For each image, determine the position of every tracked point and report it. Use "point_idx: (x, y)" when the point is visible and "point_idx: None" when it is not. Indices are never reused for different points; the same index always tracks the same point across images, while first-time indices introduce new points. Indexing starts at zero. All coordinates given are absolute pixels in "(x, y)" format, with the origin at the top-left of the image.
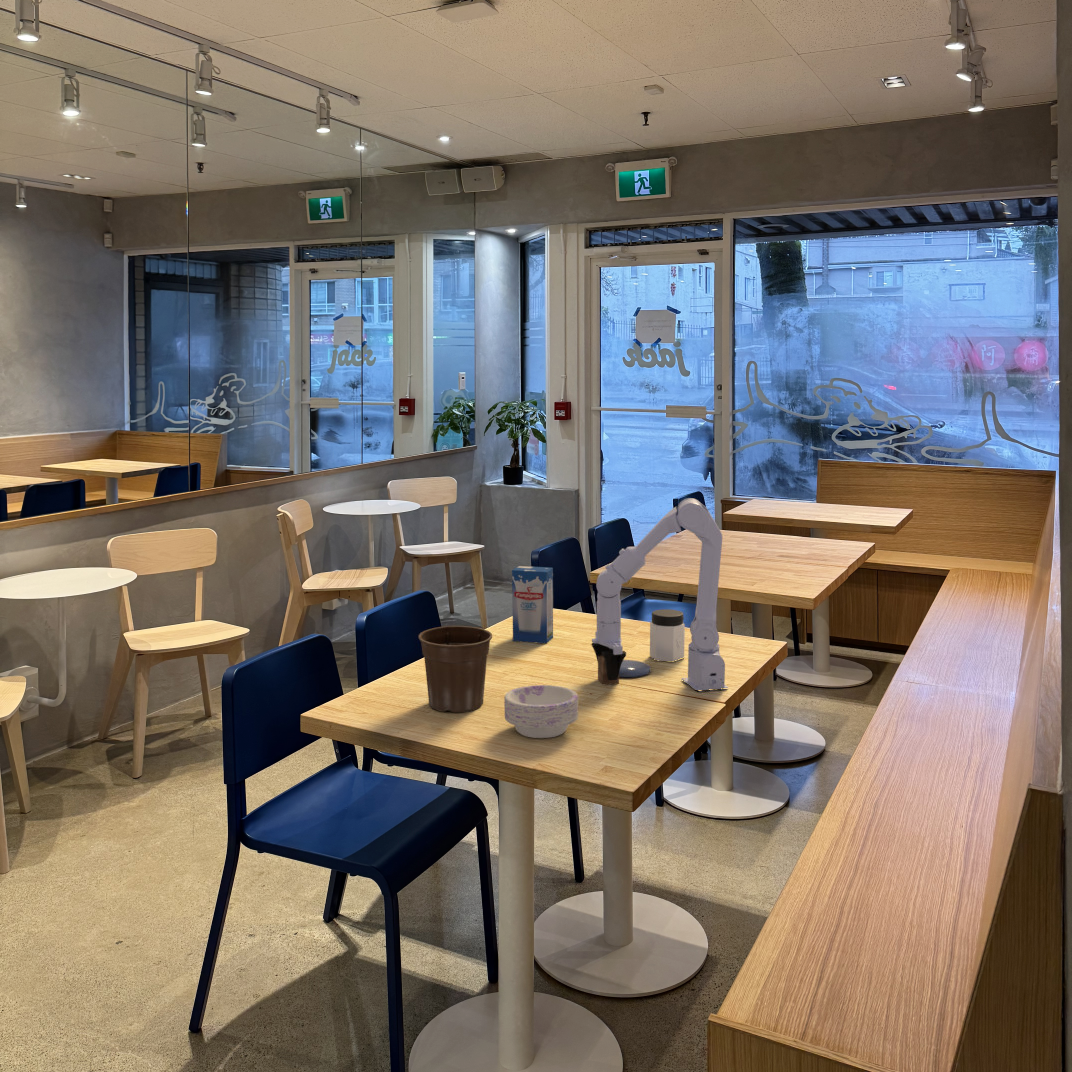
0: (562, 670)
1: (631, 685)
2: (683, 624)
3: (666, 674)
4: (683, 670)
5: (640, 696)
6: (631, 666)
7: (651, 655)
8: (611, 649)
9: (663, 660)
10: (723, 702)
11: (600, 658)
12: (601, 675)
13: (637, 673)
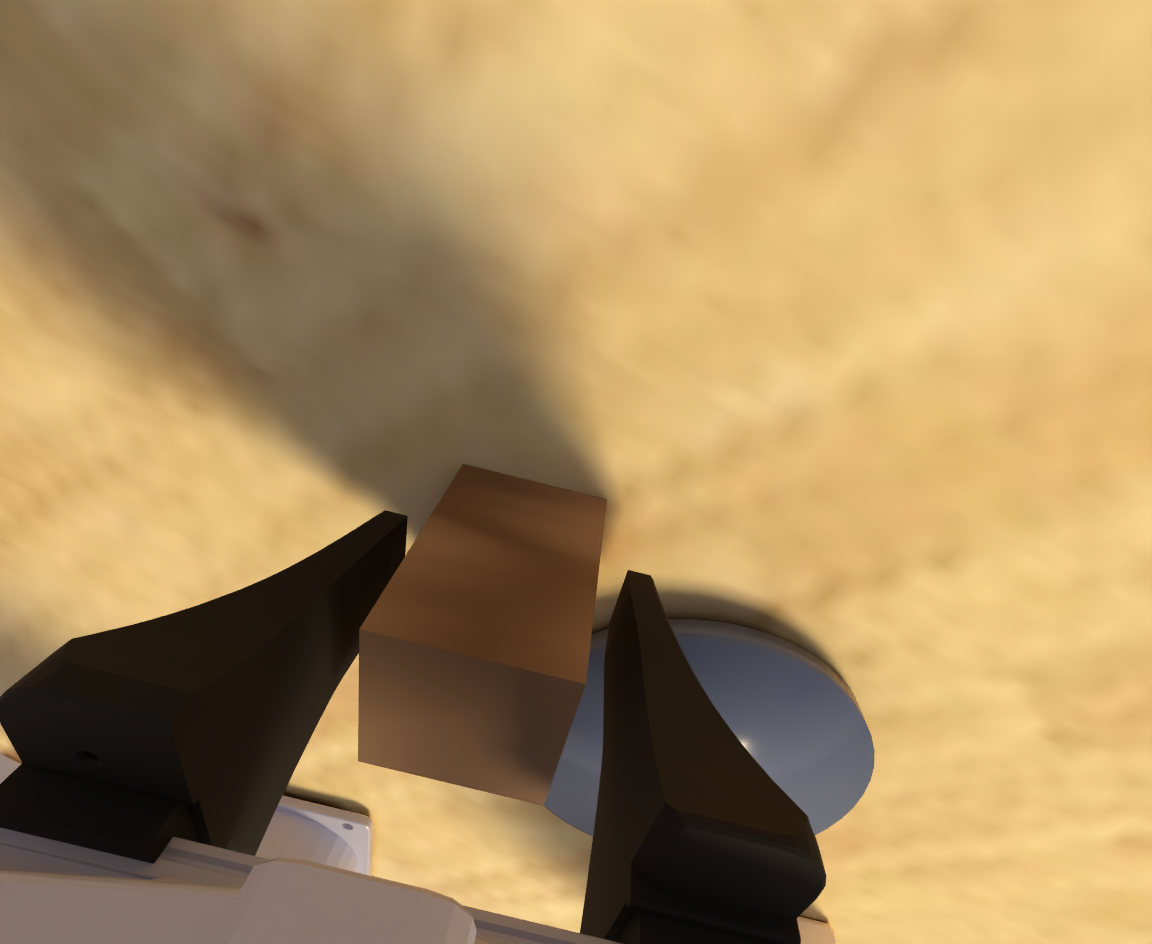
0: (1111, 374)
1: None
2: None
3: (501, 823)
4: (525, 887)
5: (127, 532)
6: None
7: (805, 933)
8: (89, 840)
9: None
10: (19, 758)
11: (478, 653)
12: (488, 514)
13: None
